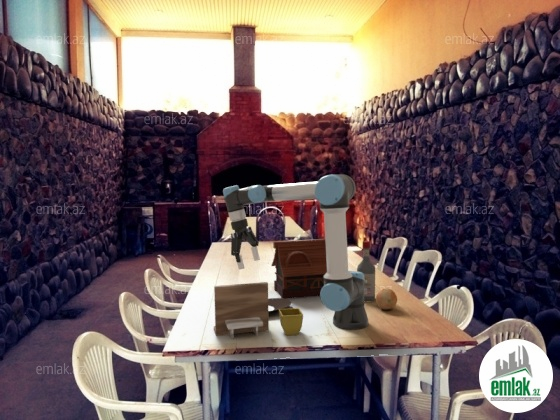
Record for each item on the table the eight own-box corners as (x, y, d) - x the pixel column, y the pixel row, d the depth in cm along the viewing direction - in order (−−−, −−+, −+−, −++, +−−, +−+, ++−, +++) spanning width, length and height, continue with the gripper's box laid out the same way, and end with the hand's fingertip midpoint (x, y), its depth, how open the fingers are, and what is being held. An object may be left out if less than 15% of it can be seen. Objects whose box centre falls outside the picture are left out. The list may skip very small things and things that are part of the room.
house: (280, 301, 228) (279, 245, 226) (268, 288, 256) (268, 237, 253) (344, 296, 236) (345, 242, 234) (326, 283, 264) (326, 235, 261)
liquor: (375, 302, 226) (375, 243, 223) (356, 301, 227) (357, 242, 225) (374, 297, 234) (375, 240, 232) (357, 296, 236) (357, 240, 234)
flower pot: (303, 336, 180) (303, 314, 179) (282, 337, 179) (282, 315, 178) (299, 328, 189) (299, 307, 188) (278, 330, 187) (278, 309, 187)
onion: (382, 313, 208) (382, 292, 207) (372, 307, 217) (372, 287, 216) (401, 311, 210) (401, 290, 209) (390, 305, 220) (390, 285, 219)
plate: (260, 298, 236) (260, 291, 236) (303, 307, 218) (303, 300, 218) (221, 311, 214) (221, 303, 214) (265, 323, 197) (265, 315, 196)
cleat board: (272, 335, 181) (272, 287, 179) (218, 341, 175) (217, 291, 173) (264, 323, 195) (263, 278, 193) (213, 328, 189) (212, 282, 188)
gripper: (246, 215, 216) (256, 257, 218) (215, 227, 195) (227, 273, 196) (258, 213, 213) (269, 255, 214) (229, 224, 191) (241, 272, 193)
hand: (249, 264), depth 205 cm, fingers open, 13 cm apart
